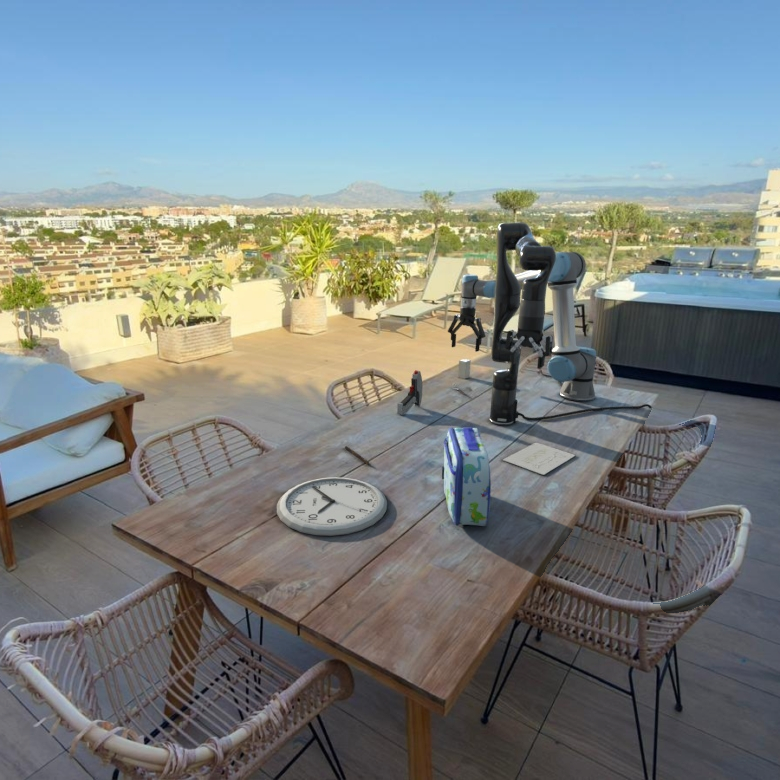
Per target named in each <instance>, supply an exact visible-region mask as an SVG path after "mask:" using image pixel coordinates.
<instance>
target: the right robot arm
mask: <svg viewBox="0 0 780 780" xmlns="http://www.w3.org/2000/svg"><path fill="white" fill-rule="evenodd" d="M586 263H587V262H586V260H585V257H584V256H583V255H582V254H581V253H579V252H576V251H558V252H556V261H555V264H554V267H553V269H552V272H551V274H550V277H549V280H548V283H547V288H549V290H551V296H552V297H551V299H552V301H551V302H552V317H553V335H554V336H553V339H554V347H552V354H551V358H550V359H549V361H548V362H547V372H548V374H545V373H543V371H542V369H539V371H538V372H539V373H540V374H541V376H543V377H547V378H552V379H553V380H555V381H557V383H558V384H559V385H560V386H561V388H560V389H559V396H560V397H561V398H563V399H566V400H569V401H573V402H580V403H581V402H593V401H594V400H595V398H596V392H595V388H594V383H593V382H594V374H595V369H596V368H595V367H596V360H597V351H596V349H594V348H591V347H585V346H578V345H577V340H576V319H575V317H576V316H575V298H574V297H575V295H574V288H575V287H576V285H577V284H578V278H580V277H581V276H582V275H583V274H584V272H585V270H586V267H587V266H586V265H587V264H586ZM539 273H540V271H532V270H526V271H524V272H521V273H518V274H514V275H515V276H516V278H517V280H518V281H519V283H520V286H521V291H522V285H523V281H524V280H526V279H530V278H535V277H537V276H538V275H539ZM495 285H496V279H494V280H493V279H492V280H480V279H479V276H478V274H464V275H462V280H461V294H460V307H459V308H460V309H459V314H454V315H453V320H452V322H451V324H450V325H449V327H448V329H447V333H449V334H450V341H451V348H455V347H456V346H457V345H456V344H457V331H458V330H459V329H461V327H462V326H465V327H470V328H471V329H472V331H473V333H474V334H475V336H476V339H475V349H474V351H475V352H479V351H480V347H481V345H482V340H483V339H484V338H486V337H487V336H486V333H485V330H484V327H483V324H482V318H481V317H477V318H476V311H477V308H476V307H477V297H483V298H488V299H495ZM458 321H459V322H458ZM457 322H458V324H457ZM456 324H457V325H456ZM562 383H563V384H562Z"/></svg>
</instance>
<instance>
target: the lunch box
mask: <svg viewBox="0 0 780 780" xmlns="http://www.w3.org/2000/svg"><path fill="white" fill-rule="evenodd" d="M443 448H444V450H443V465H442V466H441V467H442V468H441V480H443V493H444V495H445V500H446V506H447V510H448V515H449V517H450V519H451V521H452V523H453V524H454V525H455V527H458V526H465V525H469V526H480V527H485V526H487V524H488V521H489V516H490V507H491V490H492V489H491V487H492V483H491V481H492V480H491V479H492V478H491V477H492V476H491V467H490V463H489V455H488V451H487V449H486V447H485V445H484V443H483V440H482V437H481V433H480V431H479V429H478V428H477V427H473V426H468V427H449V428H448V431H447V435H446V437H445V439H444V440H443Z"/></svg>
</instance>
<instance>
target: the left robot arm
mask: <svg viewBox="0 0 780 780" xmlns="http://www.w3.org/2000/svg"><path fill="white" fill-rule="evenodd" d="M495 241H496V242H495V243H496V244H495V245H496V246H495V247H496V274H495V280H496V285H495V298H494V307H493V308H494V309H493V313H494V315H493V327H492V328H493V331H492V339H491V348H490V356H491V360H492V361H493V362H494V363H500V364H509V366H508V367H506V368H501V369H497V370H495V371H494V372H493V374H492V388H491V399H490V410H489V411H490V413H489V414H490V415H489V422H490V423H491V424H494V425H497V426H511V425H513V424H516V423H517V419H519V416H520V417H521V418H522V419H524V420H527V421H539V420H540V421H541V420H550V419H554V418H561V417H564V416H570V415H575V414H580V413H588V412H592V411H593V412H595V411H605V410H637V409H642V408H645V407H648V408H649V409H652V406H651V405H650V404H648V403H644V404H641V405H635V406H634V405H631V406H606V407H605V406H604V407H593V408H586V409H581V410H575V411H569V412H564V413H563V412H562V413H559V414H553V415H548V416H547V415H546V416H537V417H528V416H525V415H524V414H523V413H521V412H519V411H518V399H517V388H518V377H519V367H520V360H521V353H522V348H529V349H534V351H535V352H536V353H537V354H538V357H537V366H536V368H537V369H538V370H542V368H543V367H544V366H545V361H546V357H549V356H552V349H553V339H554V336H553V335H552V334H550V335H544V333H543V331H544V324H545V315H546V298H547V297H546V296H547V288H548V280H549V277H550V274H551V272H552V269H553V267H554V264H555V261H556V253H557V252H556V250H555V248H554V247H553V246H550V245H541V244H540V243H539V242H538V241H537V240H536V239H535V237H534V235H533V232H532V229H531V228H530V226H529V225H528V224H527V223H525V222H503V223H500V224H499V225H498V226H497V229H496V239H495ZM507 251H509V252H510V251H514V252H515V254H516V256H517V257H518V266H519V267H520V268H521V270H523V271H530V270H532V271H540V273H539V275H538V276H537V277H535V278H530V279H526V280H524V281H523V285H522V290H521V286H520V283H519V281H518V280H517V278H516V276H515V275H516V274H515V273H514V272H513V270H512V268H511V266H510V264H509V261H508V256H507ZM517 312H518V320H517V330H514V329H509V330H508V331H507V333H506V338H504V337H503V332H504V330H505V328H506V327H507V325H508V323H509V322H510V321H511V320H512V318H513V317H514V315H515V314H516V313H517ZM515 337H516V339H515ZM542 341H543V342H544V343H545V349H544V346H543V344H542Z"/></svg>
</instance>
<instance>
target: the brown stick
mask: <svg viewBox="0 0 780 780" xmlns="http://www.w3.org/2000/svg"><path fill="white" fill-rule="evenodd" d="M344 449H345V450H346V451H348V452H349V453H350V454H352V455H353V456H355V457H356V458H358V459H359V460H361V461H362V462H363V463H364V464H366V465H370V461H368V460H367V459H366V458H364V457H363V456H361V455H360V454H358V453H357V452H356V451H354V450H353V449H352V448H350V447H348V446H347V445H345V446H344Z"/></svg>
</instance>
